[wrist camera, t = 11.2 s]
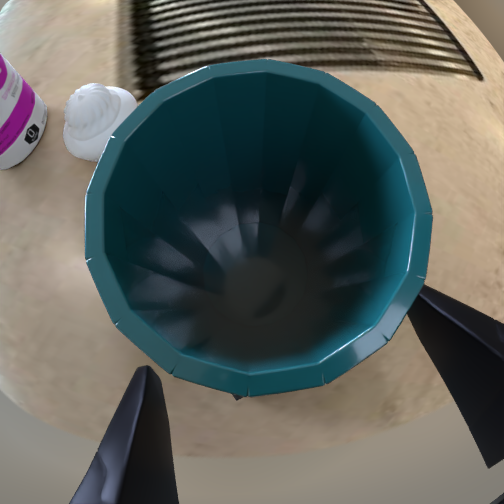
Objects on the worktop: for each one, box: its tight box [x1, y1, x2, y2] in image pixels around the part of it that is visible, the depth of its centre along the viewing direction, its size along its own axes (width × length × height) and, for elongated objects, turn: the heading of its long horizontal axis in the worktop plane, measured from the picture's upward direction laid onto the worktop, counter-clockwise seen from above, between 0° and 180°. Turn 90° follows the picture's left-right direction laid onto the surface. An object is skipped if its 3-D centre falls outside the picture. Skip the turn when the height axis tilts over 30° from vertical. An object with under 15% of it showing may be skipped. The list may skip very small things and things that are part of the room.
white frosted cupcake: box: [63, 83, 138, 162], centre depth 19 cm, size 6×6×7 cm
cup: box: [85, 59, 433, 397], centre depth 12 cm, size 7×7×13 cm
